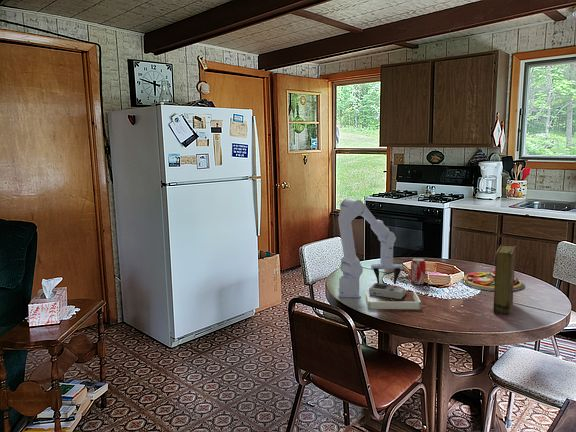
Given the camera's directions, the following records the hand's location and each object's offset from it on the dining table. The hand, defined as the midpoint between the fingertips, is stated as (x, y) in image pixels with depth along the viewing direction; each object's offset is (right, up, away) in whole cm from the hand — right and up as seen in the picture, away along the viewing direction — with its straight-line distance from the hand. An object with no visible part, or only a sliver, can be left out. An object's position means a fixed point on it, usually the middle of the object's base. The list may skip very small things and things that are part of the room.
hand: (386, 283), depth 210 cm
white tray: (-2, -5, -20) cm, 21 cm away
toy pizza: (+52, -1, +3) cm, 52 cm away
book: (+41, -6, -29) cm, 51 cm away
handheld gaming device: (-1, -4, -9) cm, 10 cm away
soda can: (+17, -1, +6) cm, 18 cm away
